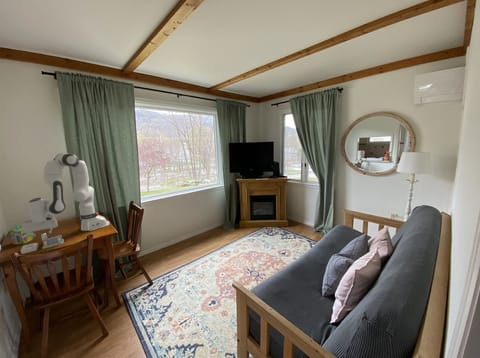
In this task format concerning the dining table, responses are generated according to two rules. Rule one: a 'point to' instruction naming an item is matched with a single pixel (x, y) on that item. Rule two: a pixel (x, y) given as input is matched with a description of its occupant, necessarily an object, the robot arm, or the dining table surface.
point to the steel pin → (43, 236)
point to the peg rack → (53, 244)
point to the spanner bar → (52, 240)
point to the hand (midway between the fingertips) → (42, 234)
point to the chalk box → (20, 236)
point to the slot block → (29, 248)
